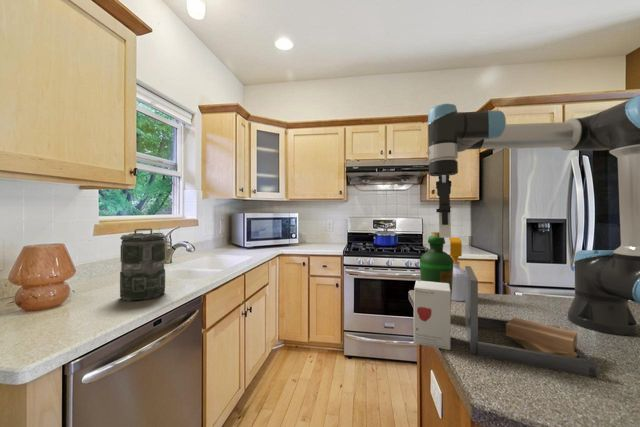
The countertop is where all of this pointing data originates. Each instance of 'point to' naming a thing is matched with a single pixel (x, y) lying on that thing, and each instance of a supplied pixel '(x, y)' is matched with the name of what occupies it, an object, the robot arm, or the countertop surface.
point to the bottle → (436, 262)
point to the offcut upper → (542, 335)
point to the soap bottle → (457, 271)
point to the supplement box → (432, 314)
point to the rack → (510, 353)
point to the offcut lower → (542, 348)
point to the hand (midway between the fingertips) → (444, 235)
